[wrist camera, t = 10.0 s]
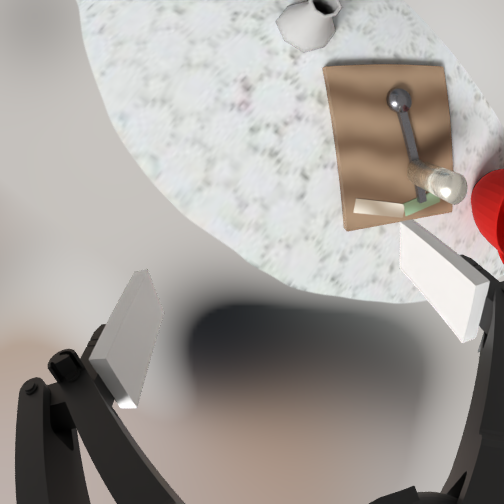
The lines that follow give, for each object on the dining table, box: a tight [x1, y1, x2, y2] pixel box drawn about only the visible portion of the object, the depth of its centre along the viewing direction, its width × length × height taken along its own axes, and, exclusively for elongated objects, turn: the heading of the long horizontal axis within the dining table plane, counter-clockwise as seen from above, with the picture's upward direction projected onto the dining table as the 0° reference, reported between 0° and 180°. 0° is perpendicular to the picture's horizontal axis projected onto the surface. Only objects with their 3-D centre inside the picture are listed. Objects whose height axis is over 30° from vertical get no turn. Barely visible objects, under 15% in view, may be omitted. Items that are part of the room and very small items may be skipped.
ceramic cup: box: [471, 169, 504, 264], centre depth 39 cm, size 13×17×10 cm
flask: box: [276, 0, 342, 52], centre depth 28 cm, size 7×7×10 cm
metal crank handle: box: [386, 89, 467, 205], centre depth 33 cm, size 16×4×10 cm, turn 21°
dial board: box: [322, 64, 453, 231], centre depth 38 cm, size 22×18×2 cm
